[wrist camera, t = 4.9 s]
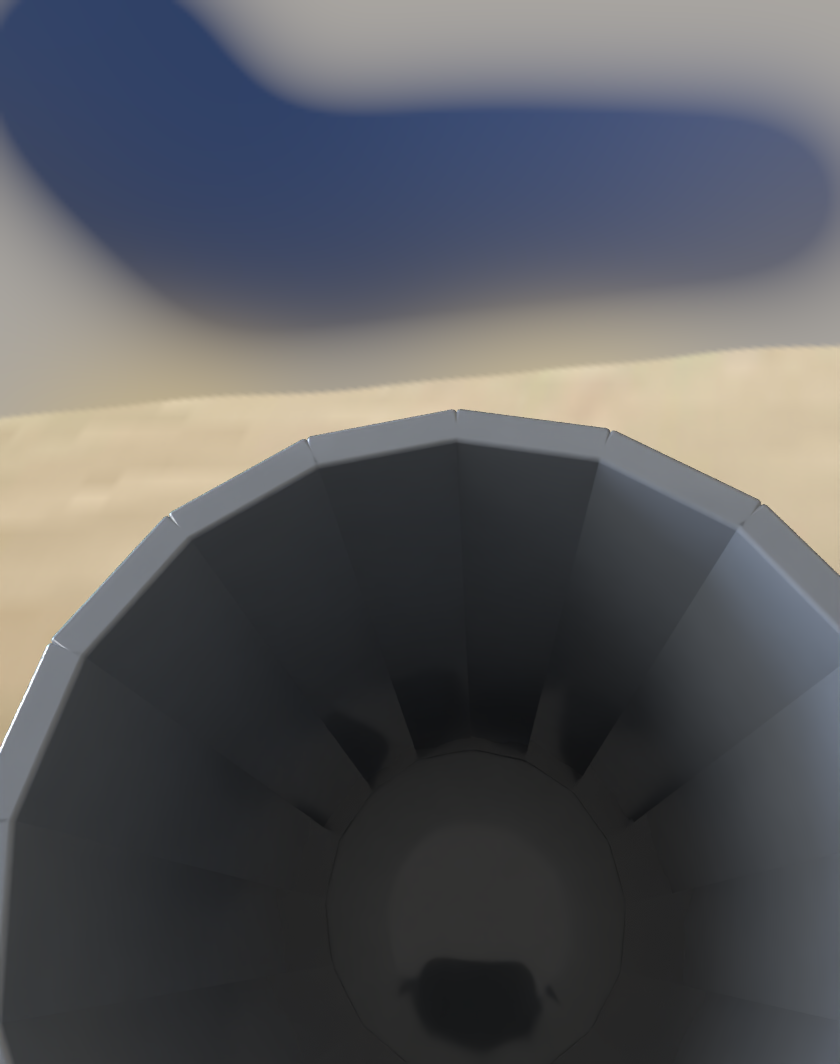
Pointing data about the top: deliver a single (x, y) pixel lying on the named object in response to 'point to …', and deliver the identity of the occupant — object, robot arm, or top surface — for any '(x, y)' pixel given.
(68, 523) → the top surface
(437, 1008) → the tumbler
